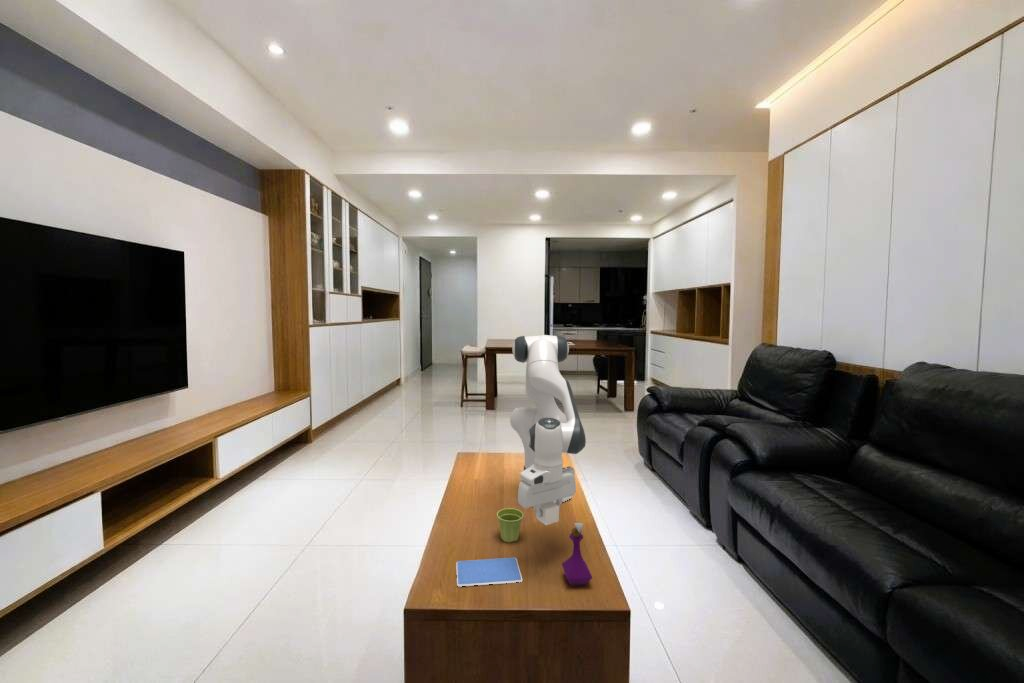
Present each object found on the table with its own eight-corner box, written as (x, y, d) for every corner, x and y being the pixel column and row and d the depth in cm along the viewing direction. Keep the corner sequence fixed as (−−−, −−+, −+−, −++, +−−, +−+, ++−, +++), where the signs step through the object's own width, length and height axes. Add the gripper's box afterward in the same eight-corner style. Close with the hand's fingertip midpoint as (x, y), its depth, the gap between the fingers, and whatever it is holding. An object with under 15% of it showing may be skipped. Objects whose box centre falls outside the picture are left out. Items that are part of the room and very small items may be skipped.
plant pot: (526, 534, 153) (526, 510, 153) (518, 547, 144) (518, 522, 144) (502, 529, 156) (502, 506, 156) (492, 542, 147) (492, 517, 147)
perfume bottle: (561, 573, 130) (562, 516, 129) (585, 573, 131) (587, 515, 130) (566, 589, 123) (568, 528, 121) (592, 588, 123) (594, 528, 122)
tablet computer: (516, 560, 138) (516, 556, 138) (523, 584, 126) (523, 580, 126) (455, 564, 135) (455, 560, 135) (456, 589, 123) (456, 585, 123)
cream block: (549, 514, 138) (549, 499, 137) (558, 521, 134) (559, 505, 133) (536, 518, 135) (536, 503, 135) (545, 525, 131) (545, 509, 131)
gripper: (568, 462, 141) (567, 502, 142) (515, 474, 131) (514, 517, 132) (580, 468, 136) (579, 510, 137) (526, 481, 125) (526, 526, 126)
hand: (547, 514), depth 134 cm, fingers closed on cream block, 5 cm apart
